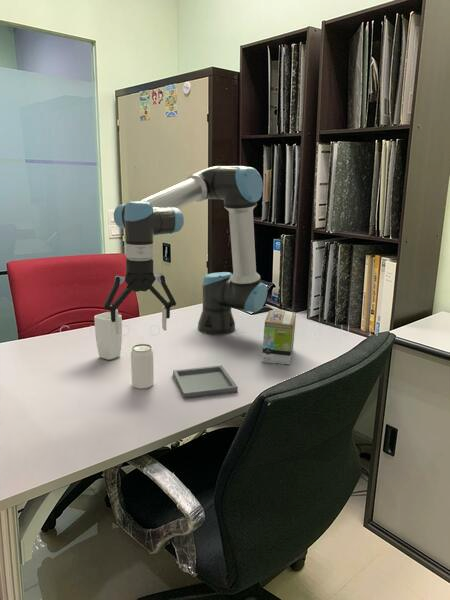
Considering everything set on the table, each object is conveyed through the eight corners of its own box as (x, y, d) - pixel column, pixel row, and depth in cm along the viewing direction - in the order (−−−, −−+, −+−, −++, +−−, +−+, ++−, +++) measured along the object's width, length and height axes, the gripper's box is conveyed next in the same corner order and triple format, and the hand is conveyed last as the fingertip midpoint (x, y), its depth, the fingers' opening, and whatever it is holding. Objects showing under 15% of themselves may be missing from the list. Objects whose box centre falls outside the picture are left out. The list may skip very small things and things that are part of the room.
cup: (125, 356, 160) (123, 315, 156) (109, 363, 154) (107, 320, 150) (110, 351, 164) (108, 311, 160) (94, 357, 158) (92, 316, 154)
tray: (173, 375, 146) (173, 370, 146) (221, 370, 151) (221, 365, 150) (184, 399, 131) (184, 393, 131) (237, 392, 136) (237, 386, 136)
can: (133, 380, 142) (131, 343, 139) (154, 379, 143) (153, 343, 140) (130, 389, 136) (129, 351, 133) (152, 389, 137) (152, 351, 133)
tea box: (290, 365, 156) (293, 324, 152) (261, 362, 158) (263, 321, 154) (293, 349, 170) (296, 311, 166) (266, 347, 172) (268, 308, 168)
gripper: (93, 262, 122) (97, 338, 127) (186, 259, 129) (185, 331, 135) (92, 257, 129) (95, 329, 134) (180, 255, 136) (180, 323, 142)
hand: (141, 330), depth 135 cm, fingers open, 13 cm apart
